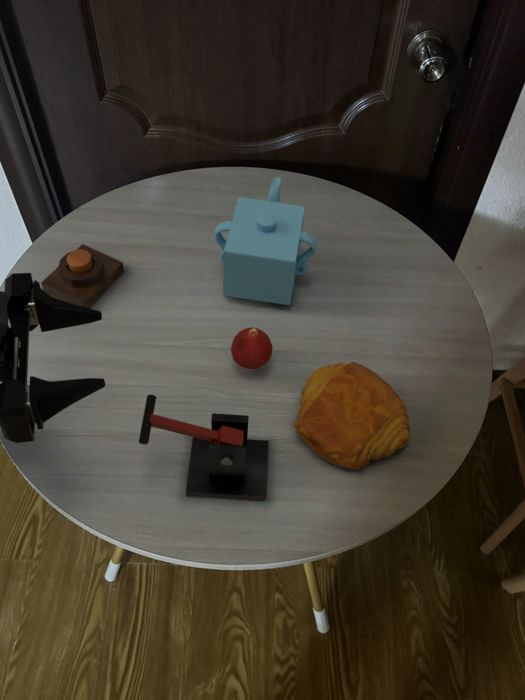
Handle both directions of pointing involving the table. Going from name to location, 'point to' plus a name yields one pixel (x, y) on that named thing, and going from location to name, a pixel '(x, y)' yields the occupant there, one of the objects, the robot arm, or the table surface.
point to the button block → (83, 279)
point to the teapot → (264, 248)
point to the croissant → (351, 415)
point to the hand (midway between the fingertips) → (103, 347)
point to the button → (79, 261)
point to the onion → (251, 348)
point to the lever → (185, 428)
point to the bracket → (228, 464)
